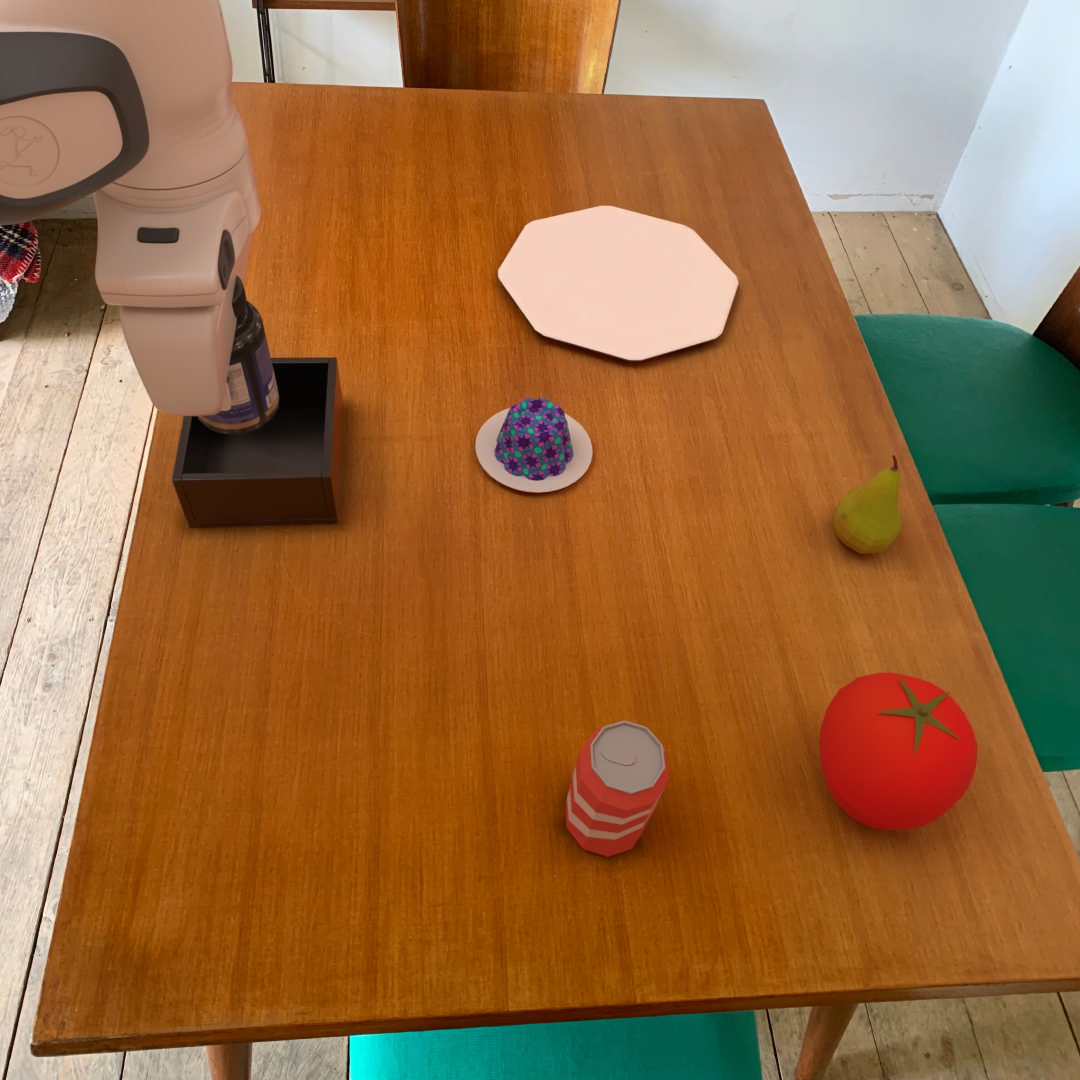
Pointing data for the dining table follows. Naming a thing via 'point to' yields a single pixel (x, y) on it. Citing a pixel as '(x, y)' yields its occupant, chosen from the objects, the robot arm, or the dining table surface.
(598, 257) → the plate
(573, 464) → the pudding
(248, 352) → the pill bottle
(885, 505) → the fruit
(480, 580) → the dining table surface
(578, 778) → the beverage can
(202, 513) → the open box
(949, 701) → the tomato
